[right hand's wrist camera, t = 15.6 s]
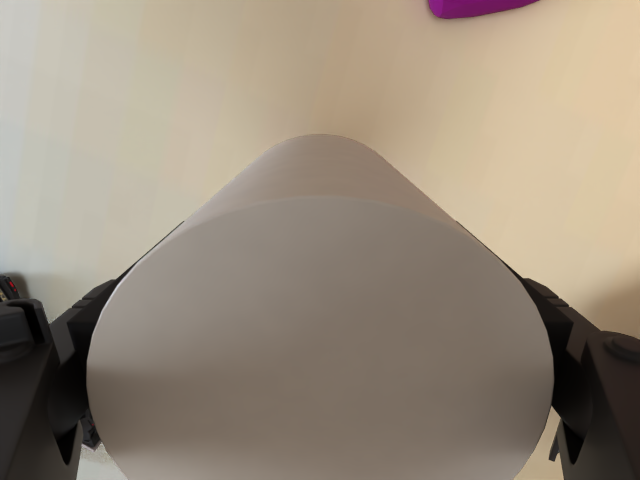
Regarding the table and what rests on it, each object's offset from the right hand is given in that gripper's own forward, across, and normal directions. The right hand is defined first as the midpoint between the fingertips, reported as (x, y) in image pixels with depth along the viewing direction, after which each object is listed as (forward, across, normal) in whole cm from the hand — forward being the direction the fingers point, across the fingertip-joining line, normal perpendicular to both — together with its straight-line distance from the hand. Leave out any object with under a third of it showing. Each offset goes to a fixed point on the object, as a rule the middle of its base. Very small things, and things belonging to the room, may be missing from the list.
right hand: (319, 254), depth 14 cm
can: (+3, 0, 0) cm, 3 cm away
